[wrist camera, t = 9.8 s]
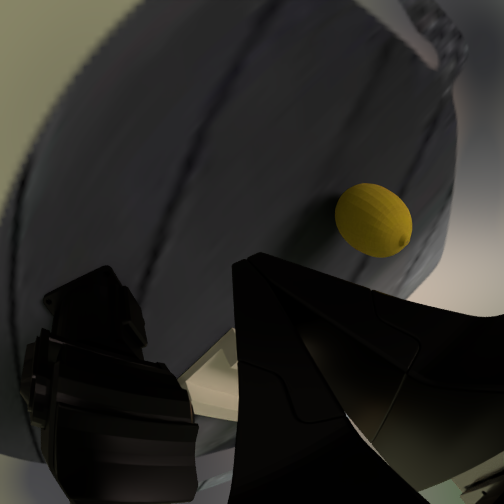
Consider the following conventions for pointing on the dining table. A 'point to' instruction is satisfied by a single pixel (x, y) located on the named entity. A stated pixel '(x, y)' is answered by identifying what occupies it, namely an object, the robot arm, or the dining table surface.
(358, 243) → the lemon
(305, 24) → the dining table surface
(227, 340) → the chute
